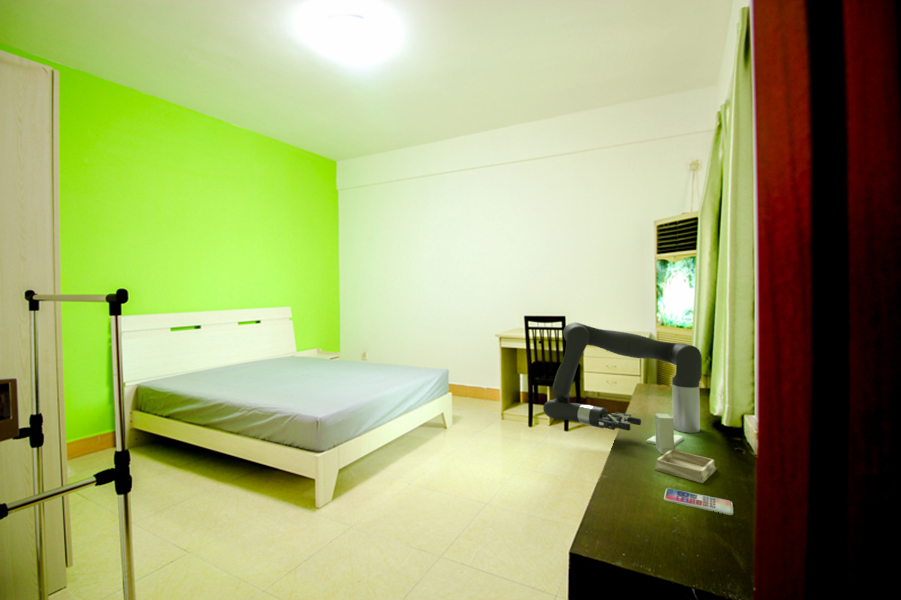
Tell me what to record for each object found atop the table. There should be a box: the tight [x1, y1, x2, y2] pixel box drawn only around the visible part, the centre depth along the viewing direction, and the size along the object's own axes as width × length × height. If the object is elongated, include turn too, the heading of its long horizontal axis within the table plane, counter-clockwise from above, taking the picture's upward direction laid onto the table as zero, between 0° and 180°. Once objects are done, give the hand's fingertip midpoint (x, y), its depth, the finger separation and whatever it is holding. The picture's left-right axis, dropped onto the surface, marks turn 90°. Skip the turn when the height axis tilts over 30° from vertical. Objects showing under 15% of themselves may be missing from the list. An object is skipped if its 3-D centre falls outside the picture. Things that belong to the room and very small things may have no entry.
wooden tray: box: [653, 449, 718, 484], centre depth 127 cm, size 13×13×3 cm
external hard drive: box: [645, 434, 685, 446], centre depth 152 cm, size 2×8×12 cm
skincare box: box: [654, 412, 675, 455], centre depth 142 cm, size 6×4×12 cm
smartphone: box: [663, 487, 734, 516], centre depth 107 cm, size 7×1×15 cm
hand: (635, 424), depth 149 cm, fingers open, 8 cm apart
